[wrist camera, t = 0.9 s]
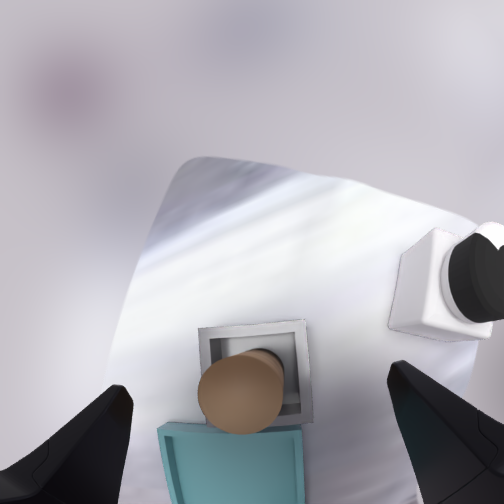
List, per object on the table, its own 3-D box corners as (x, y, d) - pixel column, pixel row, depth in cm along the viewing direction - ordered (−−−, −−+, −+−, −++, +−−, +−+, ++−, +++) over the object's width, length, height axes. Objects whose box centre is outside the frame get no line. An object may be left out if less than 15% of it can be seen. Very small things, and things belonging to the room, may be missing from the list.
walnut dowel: (286, 392, 20) (285, 432, 11) (237, 395, 20) (202, 433, 11) (282, 345, 21) (279, 352, 12) (233, 349, 22) (194, 357, 12)
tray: (304, 517, 16) (305, 530, 14) (186, 514, 17) (178, 525, 15) (300, 420, 20) (301, 429, 18) (168, 421, 21) (156, 428, 19)
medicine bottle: (446, 342, 20) (534, 334, 9) (385, 328, 22) (463, 315, 10) (457, 272, 22) (535, 228, 11) (400, 254, 23) (467, 192, 12)
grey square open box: (308, 407, 20) (313, 422, 16) (220, 412, 21) (206, 427, 17) (301, 322, 23) (305, 318, 18) (213, 330, 23) (198, 328, 19)
